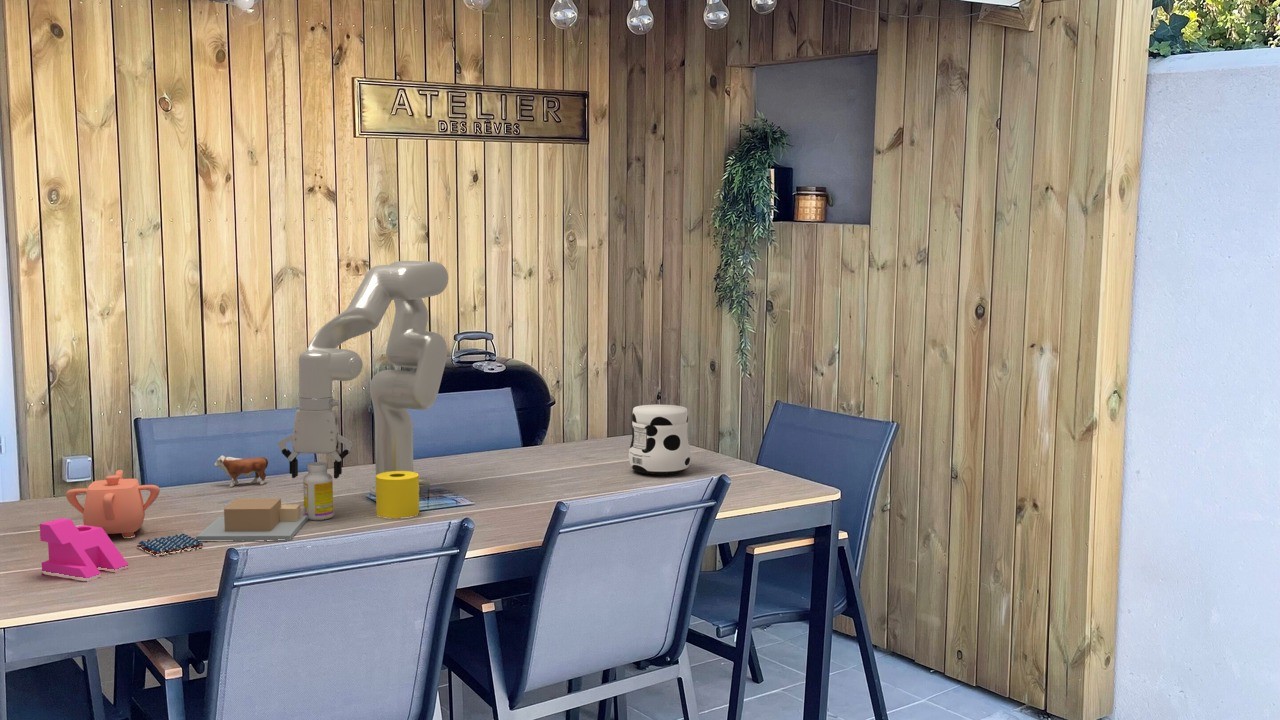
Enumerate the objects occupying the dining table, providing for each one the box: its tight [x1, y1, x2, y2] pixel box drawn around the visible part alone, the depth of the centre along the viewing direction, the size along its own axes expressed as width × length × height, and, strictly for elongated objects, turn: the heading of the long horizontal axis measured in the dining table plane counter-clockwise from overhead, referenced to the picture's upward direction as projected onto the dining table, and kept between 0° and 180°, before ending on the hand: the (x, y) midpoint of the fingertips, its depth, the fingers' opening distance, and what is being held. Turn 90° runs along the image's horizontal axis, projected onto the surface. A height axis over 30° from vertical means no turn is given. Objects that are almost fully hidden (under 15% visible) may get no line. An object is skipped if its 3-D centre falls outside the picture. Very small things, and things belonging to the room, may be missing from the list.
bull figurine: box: [213, 455, 269, 488], centre depth 318 cm, size 4×13×8 cm, turn 108°
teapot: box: [65, 469, 161, 537], centre depth 268 cm, size 17×16×13 cm
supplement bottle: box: [302, 461, 334, 521], centre depth 284 cm, size 7×7×13 cm
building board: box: [195, 498, 309, 542], centre depth 272 cm, size 20×18×6 cm
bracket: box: [39, 517, 129, 578], centre depth 240 cm, size 12×10×10 cm
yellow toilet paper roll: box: [375, 471, 420, 518], centre depth 288 cm, size 10×10×9 cm
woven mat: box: [136, 533, 204, 555], centre depth 257 cm, size 10×11×2 cm
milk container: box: [628, 403, 692, 476], centre depth 338 cm, size 17×17×18 cm
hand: (315, 477), depth 283 cm, fingers open, 9 cm apart
